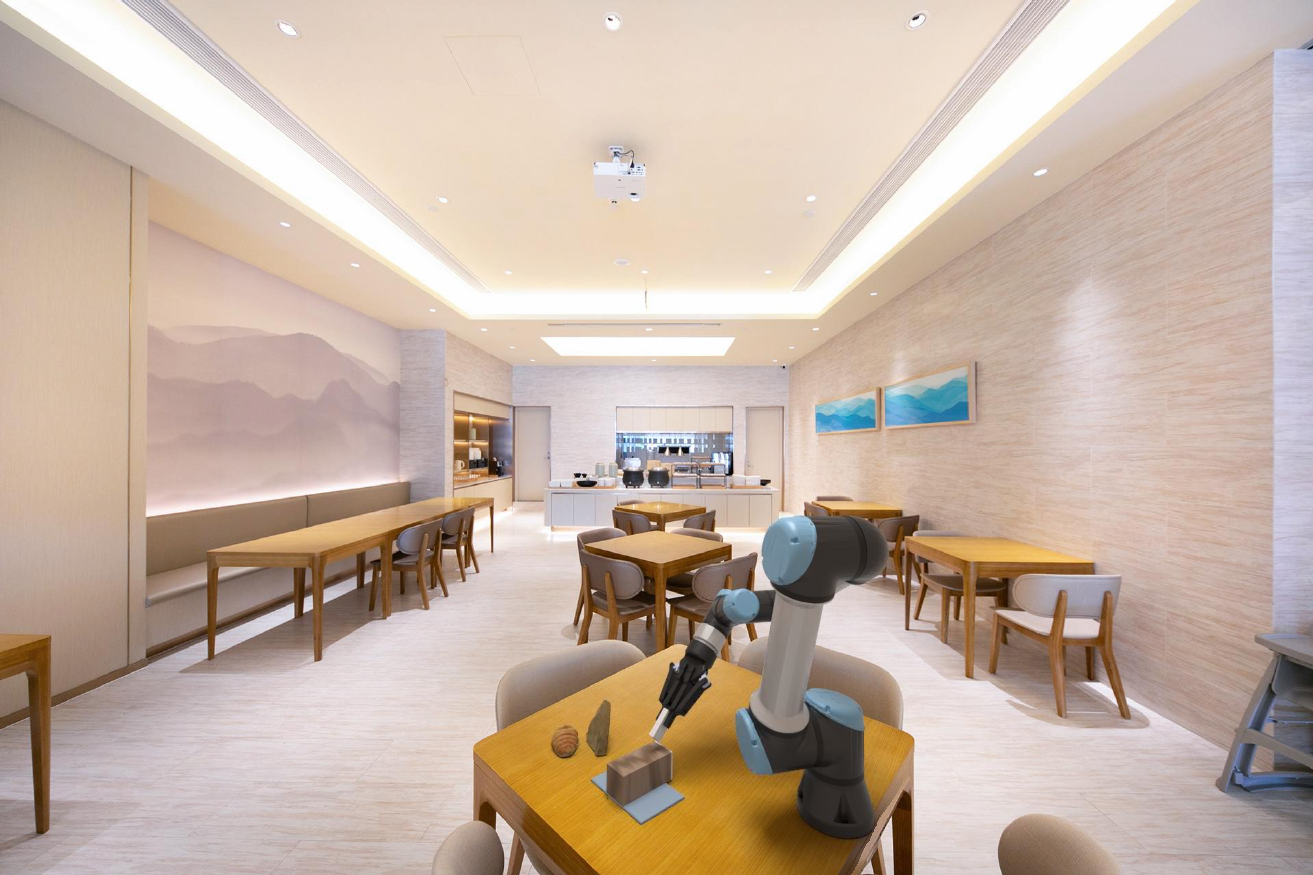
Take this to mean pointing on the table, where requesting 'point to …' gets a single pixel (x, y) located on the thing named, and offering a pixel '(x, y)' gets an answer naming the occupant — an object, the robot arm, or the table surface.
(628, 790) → the walnut block
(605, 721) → the rock
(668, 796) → the mat
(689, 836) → the table surface
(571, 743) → the pastry
